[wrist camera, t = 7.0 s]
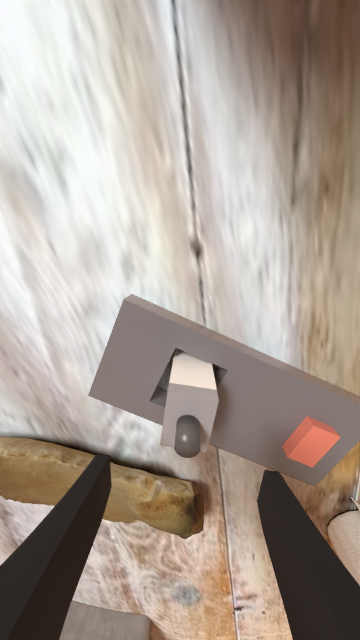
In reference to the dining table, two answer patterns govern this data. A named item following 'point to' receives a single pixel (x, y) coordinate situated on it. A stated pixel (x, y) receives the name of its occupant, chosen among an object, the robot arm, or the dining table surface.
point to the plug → (189, 405)
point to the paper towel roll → (347, 540)
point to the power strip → (231, 393)
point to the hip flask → (103, 624)
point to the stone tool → (125, 496)
